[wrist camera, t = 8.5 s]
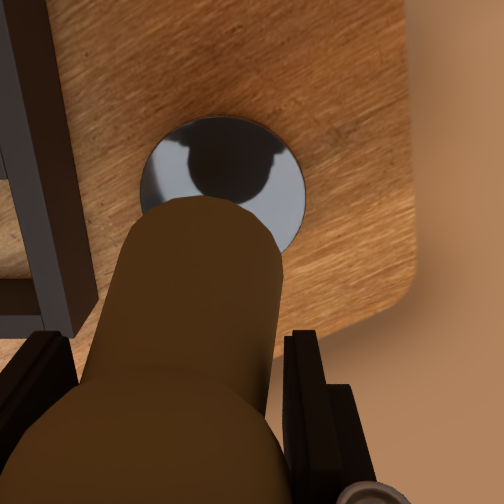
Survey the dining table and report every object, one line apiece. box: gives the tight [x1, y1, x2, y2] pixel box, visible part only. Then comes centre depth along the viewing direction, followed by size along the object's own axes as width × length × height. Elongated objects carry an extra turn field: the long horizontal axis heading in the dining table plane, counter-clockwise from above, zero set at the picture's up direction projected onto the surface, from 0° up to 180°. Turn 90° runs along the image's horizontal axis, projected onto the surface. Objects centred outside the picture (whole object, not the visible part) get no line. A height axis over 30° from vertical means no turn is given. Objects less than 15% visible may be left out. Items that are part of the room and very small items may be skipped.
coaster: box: [140, 114, 306, 254], centre depth 24 cm, size 9×9×1 cm
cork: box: [0, 195, 293, 504], centre depth 11 cm, size 6×6×11 cm
